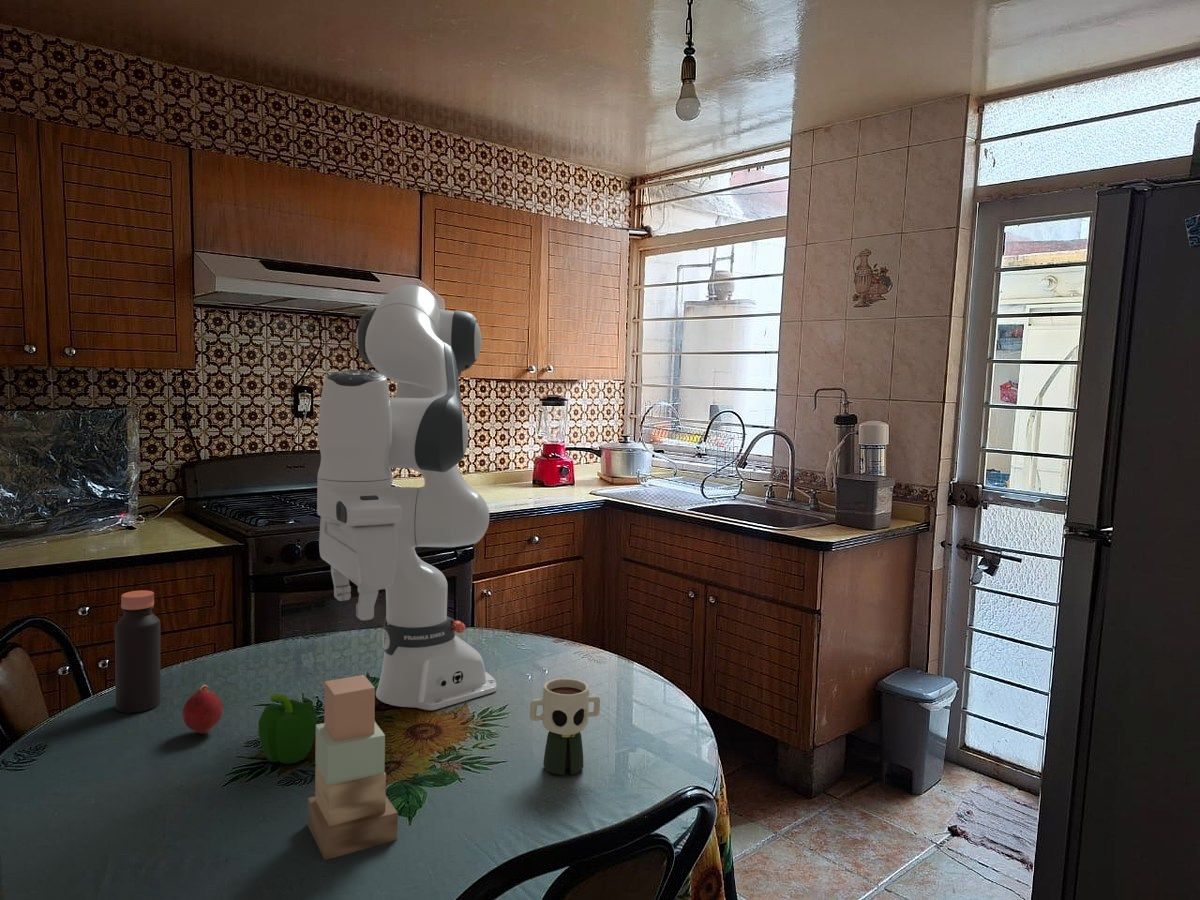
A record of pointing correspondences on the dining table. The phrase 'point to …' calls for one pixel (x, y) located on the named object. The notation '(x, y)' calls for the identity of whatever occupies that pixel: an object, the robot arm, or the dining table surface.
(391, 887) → the dining table surface
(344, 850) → the walnut slab
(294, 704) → the bell pepper
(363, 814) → the oak cube
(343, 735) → the terracotta block
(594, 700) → the character mug
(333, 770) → the sage cube
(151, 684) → the bottle
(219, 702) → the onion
